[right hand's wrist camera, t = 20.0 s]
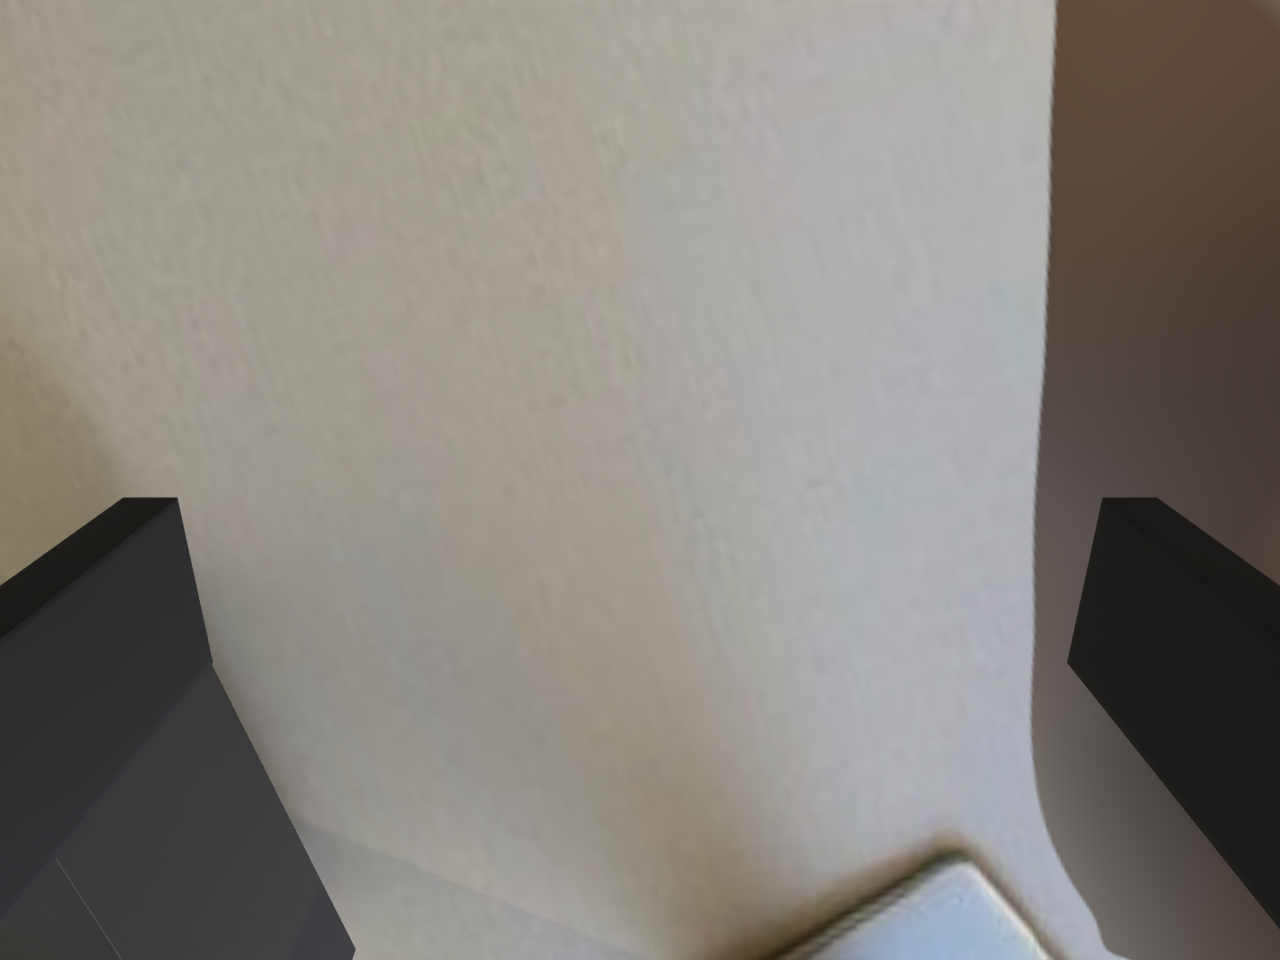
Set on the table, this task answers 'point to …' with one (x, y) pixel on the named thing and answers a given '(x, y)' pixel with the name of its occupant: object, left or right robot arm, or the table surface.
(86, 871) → the box
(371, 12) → the table surface
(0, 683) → the right robot arm
